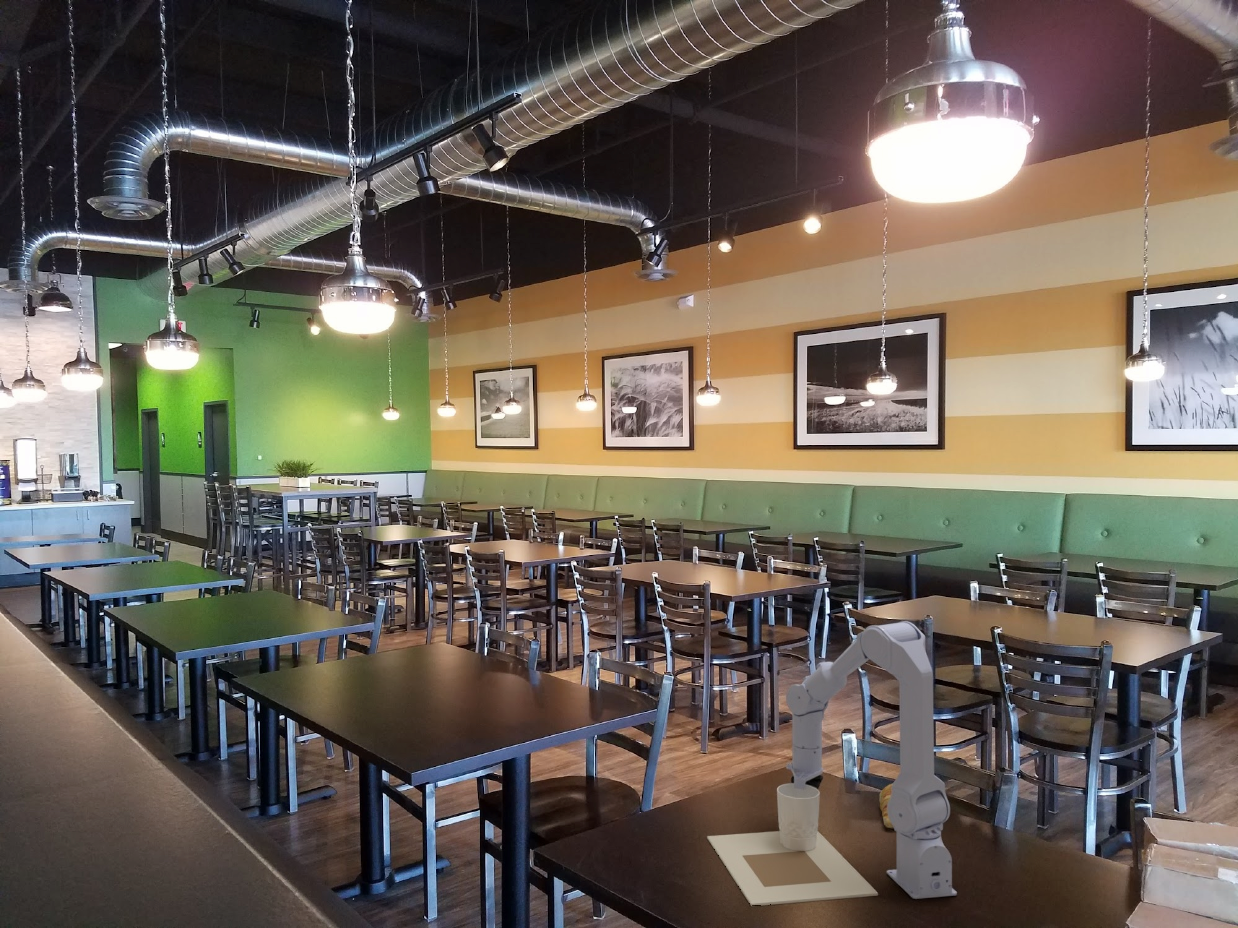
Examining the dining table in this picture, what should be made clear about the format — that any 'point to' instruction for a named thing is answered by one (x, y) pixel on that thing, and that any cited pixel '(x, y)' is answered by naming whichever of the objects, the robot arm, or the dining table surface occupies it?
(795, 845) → the white cup
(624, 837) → the dining table surface
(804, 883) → the placemat
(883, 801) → the croissant
